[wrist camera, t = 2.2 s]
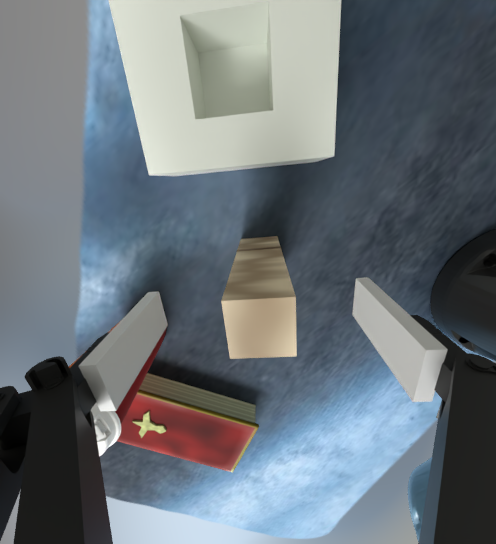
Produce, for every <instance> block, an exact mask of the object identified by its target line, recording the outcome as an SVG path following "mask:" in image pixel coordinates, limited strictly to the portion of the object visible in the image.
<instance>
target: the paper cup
mask: <svg viewBox="0 0 496 544" xmlns="http://www.w3.org/2000/svg"><path fill="white" fill-rule="evenodd" d="M116 326H117V325H115V326H114V327H113V328H112V329H111V330H110V331H109V332H107V333H110V332H111V331H112V330H113V329H114V328H115V327H116ZM165 334H166V329H165V331H164V332H163V334H162V336H161V337H160V339H159V341H158V342H157V344H156V346H155V347H154V349H153V351H152V352H151V354H150V356H149V357H148V359H147V361H146V362H145V364H144V366H143V367H142V369H141V371H140V372H139V374H138V376H137V377H136V379H135V381H134V382H133V384H132V385H131V387H130V389H129V390H128V392H127V394H126V395H125V397H124V399H123V400H122V402H121V404H120V405H119V407H118V409H117V410H116V411H100V409H99V407H98V405H97V403H95V405H94V406H93V407H92V409H91V412H92V414H93V418H94V424H95V431H96V437H97V444H98V450H99V457H100V456H101V455H102V454H103V453H104V452H105V451H106V449H107V448H108V447H110V446H111V445H112V444H114V443H115V442H116V441H117V439H118V438H119V436H120V434H121V424H122V422H123V420H124V418H125V416H126V414H127V412H128V410H129V408H130V406H131V404H132V402H133V400H134V398H135V396H136V394H137V392H138V390H139V388H140V386H141V384H142V382H143V380H144V378H145V376H146V374H147V372H148V370H149V368H150V366H151V364H152V362H153V360H154V358H155V356H156V354H157V352H158V350H159V348H160V346H161V344H162V342H163V340H164V337H165ZM85 353H86V352H85ZM82 355H83V354H82ZM82 355H81V356H82ZM81 356H80V357H81ZM80 357H79V358H80ZM79 358H78V359H79ZM78 359H77V360H78ZM77 360H76V361H77ZM76 361H75V362H76ZM75 362H74V363H75ZM74 363H72V364H71V365H70V366H69V368H70V367H71V366H72V365H73V364H74Z"/></svg>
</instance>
